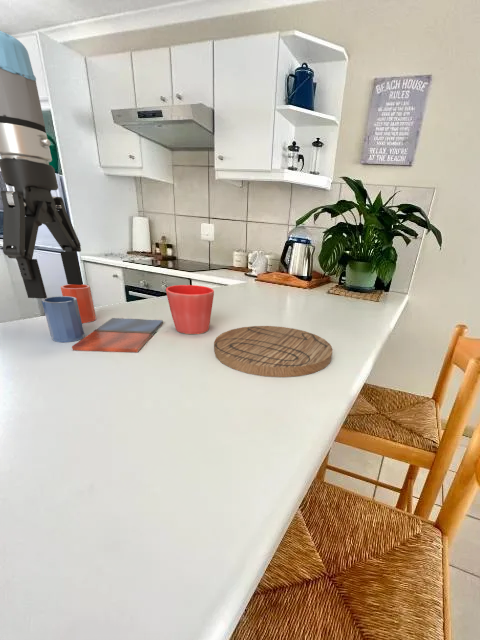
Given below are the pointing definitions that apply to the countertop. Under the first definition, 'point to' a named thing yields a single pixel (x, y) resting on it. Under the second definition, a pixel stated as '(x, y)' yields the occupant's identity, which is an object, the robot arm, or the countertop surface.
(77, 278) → the robot arm
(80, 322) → the blue cup
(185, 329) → the flower pot
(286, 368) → the trivet
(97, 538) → the countertop surface
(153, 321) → the board
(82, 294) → the red cup
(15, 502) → the countertop surface
